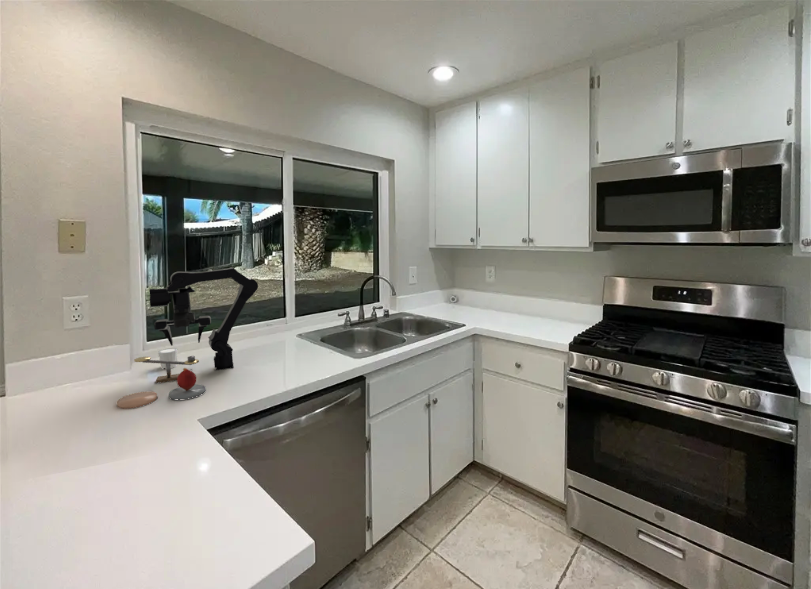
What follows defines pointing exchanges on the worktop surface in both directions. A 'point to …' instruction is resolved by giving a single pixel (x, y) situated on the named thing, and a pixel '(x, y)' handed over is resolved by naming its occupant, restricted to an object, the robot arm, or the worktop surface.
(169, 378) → the balance
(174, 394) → the slate dish
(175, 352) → the white cylinder
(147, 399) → the terracotta dish
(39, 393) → the worktop surface
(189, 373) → the onion
